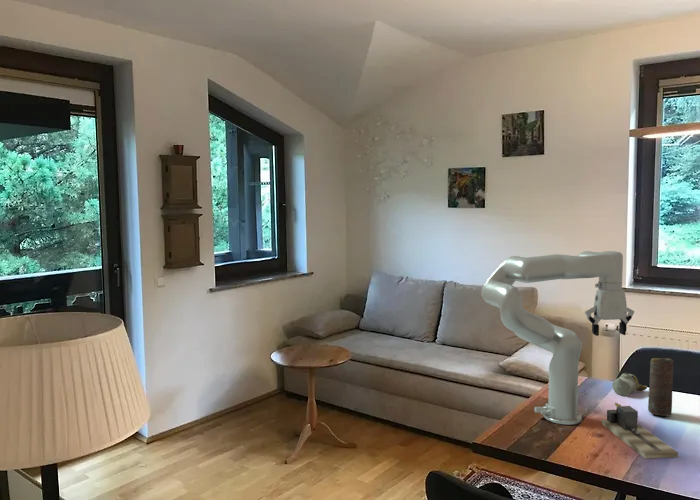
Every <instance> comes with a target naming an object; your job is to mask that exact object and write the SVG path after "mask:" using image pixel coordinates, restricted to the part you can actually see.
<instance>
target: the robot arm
mask: <svg viewBox="0 0 700 500" xmlns="http://www.w3.org/2000/svg"><path fill="white" fill-rule="evenodd" d="M623 265H624V256H623V253H622V252H620V251H616V250H615V251H614V250H613V251H612V250H611V251H610V250H607V251H601V252H599V251H583V252H580V253H578V255H569V254H559V253H558V254H557V253H556V254H548V255H539V256H529V257H525V256H520V255H518V256H517V255H512V256H509V257H507V258H506V259H505V260H504V261H502V263H500V265H499V266H498V267H496V269H495V270H494V271H493V273H492V274H491V275H490V276H489V278H488V279H487V280H485V282H484V283H483V285H482V287H481V292H480V295H481V298H482V299H483V301H484V302H485V303H487V304H488V305H491V306H493V307H496V308H498V309H499V314H500V319H501V322H502V324H503V326H504V327H505V328H506V329H508V330H510V331H511V332H513V333H514V334H515V335H516V337H518V338H519V339H521V340H524V341H525V342H528V343H530V344H532V345H534V346H536V347H538V348H540V349H543V350H545V351H546V352H550V353H551V354H552V357H551V359H550V361H549V365H548V401H547V402H546V403H545V405H542V406H534V413H535V414H536V413H540V414H541V415H543V418H544V419H545V420H546V421H548V422H551V423H554V424H557V425H558V424H559V425H567V426H569V425H570V426H571V425H578V424H580V423H582V420H583V416H582V415H581V414H580V412H578V403H579V402H578V400H579V399H578V397H579V396H578V395H579V390H578V389H579V388H578V387H579V364H580V357H581V353H582V349H583V347H582V346H583V344H582V340H581V338H580V336H579V335H578V334H577V333H576V332H574V331H573V330H572V329H571V330H570V329H567V328H565V327H562V326H558V325H555V324H552V323H551V322H550V321H549V320H547V318H544V317H542V316H540V315H537V314H534V313H532V312H530V311H529V310H527V309H525V308H524V306H523V300H522V299H523V298H522V295H521V292H520V291H519V289H518V288H517V287H516V286H514V285H513V284H514V283H515V282H520V283H525V284H531V283H538V282H540V283H541V282H547V281H555V280H575V279H577V280H578V279H593V278H598V281H597V283H595V284H594V287H595V288H597V290H596V292H595V297H594V303H593V307H591V308H589V309H587V310H585V311H584V314H585V316H586V318H587V320H588V321H589V322H590V323H591V333H592V334H593V335H594V336H596V337H598V336H599V335H600V325H599V324H598V323H600V321H601V320H602V321H607V320H609V321H611V320H613V321H614V320H620V321H619V323H618V324H619V326H618V327H619V328H618V334H621V335H622V336H626V334H627V328H628V327H627V324H629V322H630V320H632V317H633V315H634V314H635V311H634V310H633V309H632V308H629V307H628V305H627V297H626V291H625V290H623V271H624V270H623V269H624V267H623ZM592 314H593V317H592Z"/></svg>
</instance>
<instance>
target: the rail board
mask: <svg viewBox="0 0 700 500" xmlns="http://www.w3.org/2000/svg"><path fill="white" fill-rule="evenodd" d="M601 425H603V427H605V428H606V429H608V430H609V431H610V432H611V433H613V435H615V436H616V437H618V438H619V439H620V440H621V441H622V442H624V443H625V444H626V445H628V446H629V447H630V448H631V449H632V450H634V451H635V452H636V453H638V454H639V456H641V457H643V458H644V459H660V458H661V459H662V458H664V459H665V458H666V459H667V458H678V457H679V452H678V451H677V450H676V449H674V448H673V447H671V446H670V445H668V444H667V443H666V442H665V441H663V440H662V439H660V438H659V437H657V436H656V435H654V434H653V433H652V432H650V431H648V430H647V429H646V428H645V427H643V426H642V425H640V424H639V423H637V431H638V432H640V435H637V434H636V433H634V432H633V431H632V430H625V429H623V428H622V427H621V426H619V425H618V424H617V423H610V422H609V421H607V418H606V419H601Z"/></svg>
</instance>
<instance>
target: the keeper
mask: <svg viewBox="0 0 700 500" xmlns="http://www.w3.org/2000/svg"><path fill="white" fill-rule="evenodd" d="M614 405H615V408H616V409H606V419H607V421H609V422H610V423H617V414H618V406H622V404H619V403H618V402H615V403H614Z"/></svg>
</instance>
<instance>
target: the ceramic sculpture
mask: <svg viewBox="0 0 700 500" xmlns="http://www.w3.org/2000/svg"><path fill="white" fill-rule="evenodd" d="M648 388H649V385H643V384H642V383H639V380H638V377H636V376H635V375H634V374H631V373H630V372H629V371H625V372H623V373H622V374H621V375H620V376H619V377H618V378H616V379H614V381H612V389H613V392H614V393H616V394H617V395H619V396H623V397H624V396H625V397H628V396H629V395H630V394H631V393H634V392H644V391H645V390H647V389H648Z"/></svg>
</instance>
